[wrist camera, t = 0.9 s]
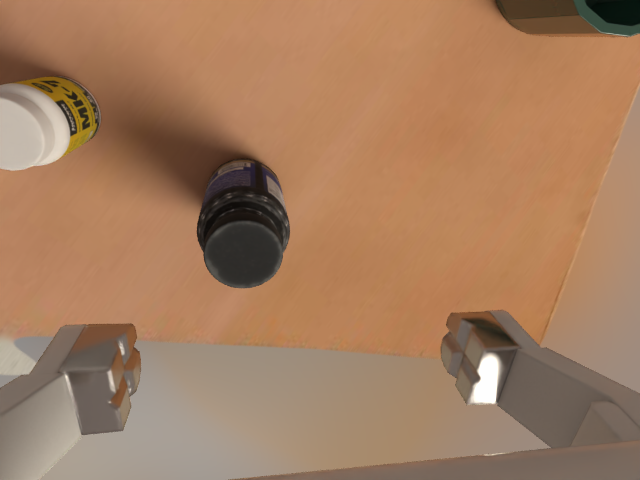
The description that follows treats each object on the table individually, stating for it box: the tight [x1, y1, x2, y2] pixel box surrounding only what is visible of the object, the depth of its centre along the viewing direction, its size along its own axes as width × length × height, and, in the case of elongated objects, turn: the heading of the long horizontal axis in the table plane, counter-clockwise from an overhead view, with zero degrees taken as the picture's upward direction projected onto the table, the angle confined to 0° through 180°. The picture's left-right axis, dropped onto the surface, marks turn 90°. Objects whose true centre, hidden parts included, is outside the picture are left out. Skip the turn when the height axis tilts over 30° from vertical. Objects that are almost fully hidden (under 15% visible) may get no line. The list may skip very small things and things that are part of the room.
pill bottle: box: [197, 159, 290, 288], centre depth 29 cm, size 6×6×11 cm
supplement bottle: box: [0, 76, 101, 170], centre depth 25 cm, size 5×5×8 cm
